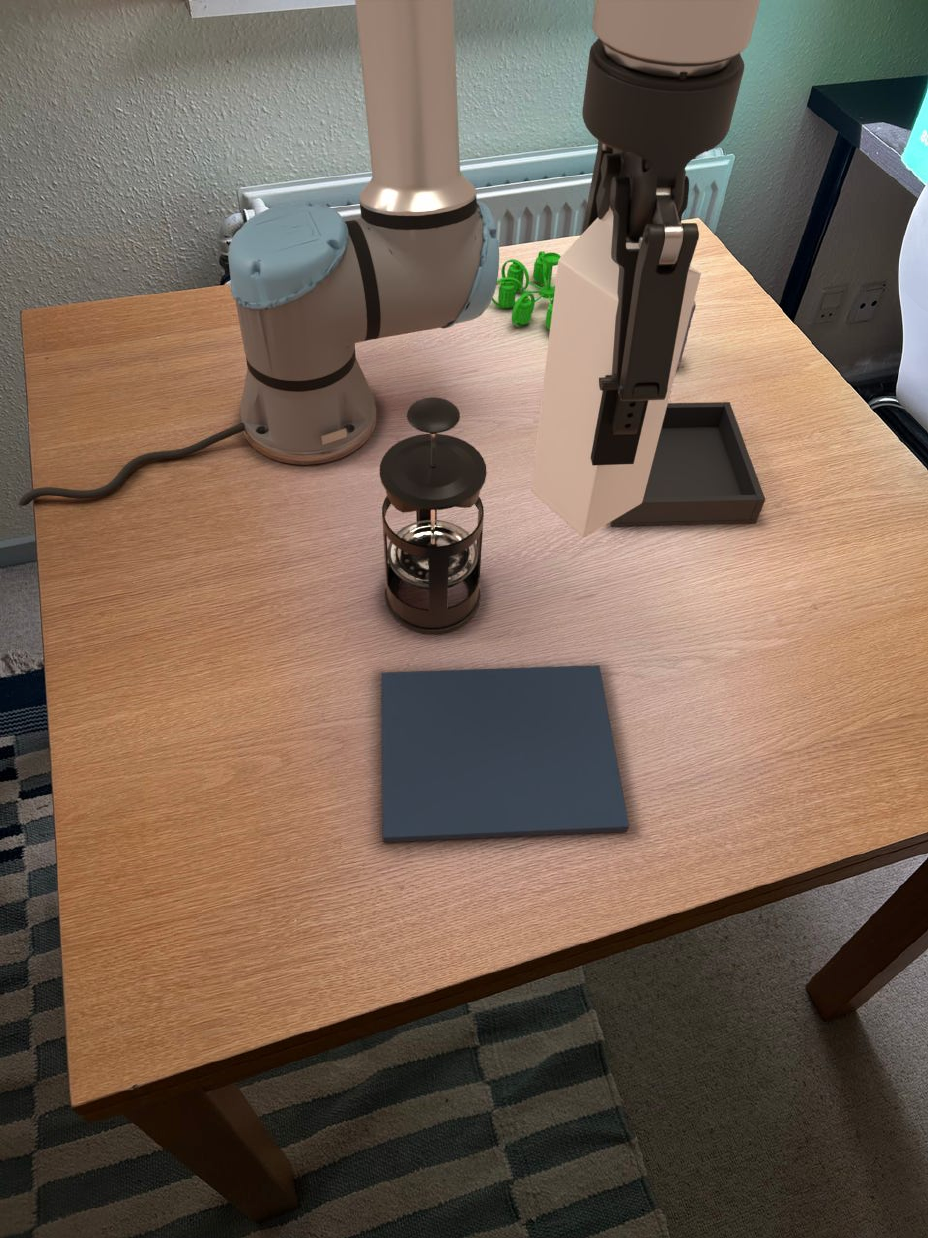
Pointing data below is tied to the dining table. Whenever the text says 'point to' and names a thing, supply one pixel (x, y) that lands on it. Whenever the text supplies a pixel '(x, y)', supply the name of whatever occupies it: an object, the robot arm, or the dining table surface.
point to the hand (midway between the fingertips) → (600, 415)
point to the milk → (591, 389)
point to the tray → (699, 471)
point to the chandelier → (515, 281)
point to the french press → (432, 519)
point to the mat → (498, 754)
